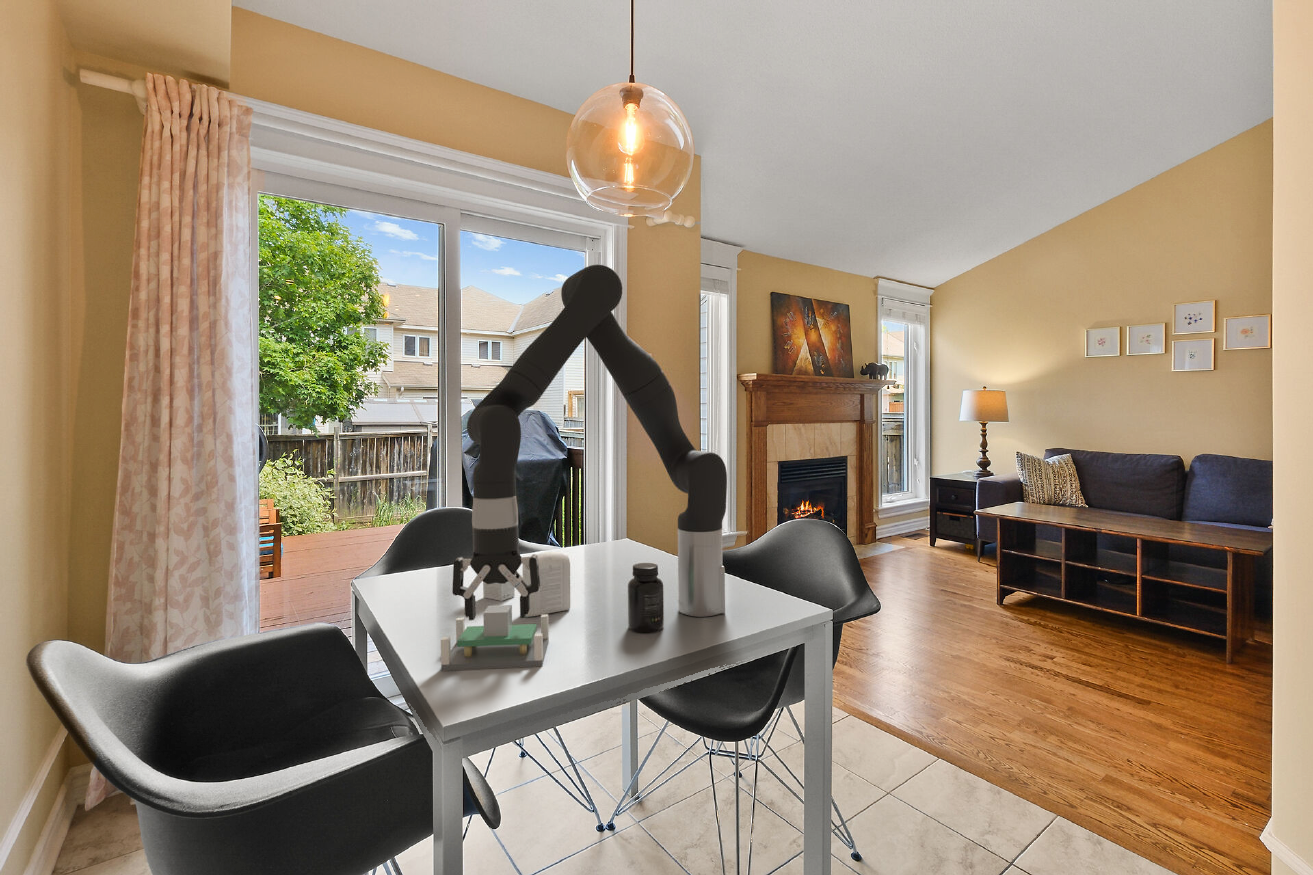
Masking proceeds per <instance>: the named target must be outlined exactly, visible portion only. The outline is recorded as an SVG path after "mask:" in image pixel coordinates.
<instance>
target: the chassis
mask: <svg viewBox="0 0 1313 875" xmlns="http://www.w3.org/2000/svg"><path fill="white" fill-rule="evenodd" d="M465 622H466V621H465V617H457V618H456V619H455V635H456V641H455V642H456V643H455V644H454V645H453V647H452V646H451V637H450V636H449V637H447V636H443V637H442V638H441V639H440V659H441V660H440V662H441V664H440V665H441V667H440V668H441V670H440V671H441V672H449V671H451V672H452V671H467V670H468V671H469V670H487V669H488V670H492V669H513V668H515V669H516V668H536V667H543V665H544V661H545V658H546V653H547V649H548V646H549V643H550V642H549V641H550V640H549V638H550V633H549V613H548V614H542V615H540V633H535V635H534V638H533V641H532V643H531V644H524V645H496V646H469V647H457V640H458V639H459V638H460V636H461V635H462V633H463V632H464V631H465V629H466V628H465V626H466V625H465ZM451 647H452V648H451Z"/></svg>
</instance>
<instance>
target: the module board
mask: <svg viewBox="0 0 1313 875" xmlns="http://www.w3.org/2000/svg"><path fill="white" fill-rule="evenodd" d="M482 614H483V625H470V626H466V628H465V631H464V632H463V633H462V635H461V636H460V638H459V639H458V640H457V647H469V646H496V645H524V644H531V643H532V641H533V638H534V635H535V634H537V633H536V632H537V630H538V629H537V627H538V626H537V625H538V624H537V623H533V624H532V623H530V624H529V623H528V624H526V623H525V624H513V605H512V604H503V605H502V604H501V605H496V604H495V605H487V607H486V609H484V611H483V613H482Z"/></svg>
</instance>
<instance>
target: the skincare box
mask: <svg viewBox="0 0 1313 875" xmlns="http://www.w3.org/2000/svg"><path fill="white" fill-rule="evenodd" d="M482 582H483V581H482ZM482 586H483V588H482V590H483V592H482V593H483V598H484V599H489V600H495V601H500V602H502V601H505V600H509V599H511V598H515V594H516V593H515V590H516V589H515V588H514V587H513V586H512V585H511V583H510V582H509V581H508V582H506V583H505V584H500V583H493V584H486V583H485V582H483V583H482Z"/></svg>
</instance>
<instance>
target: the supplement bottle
mask: <svg viewBox="0 0 1313 875" xmlns="http://www.w3.org/2000/svg"><path fill="white" fill-rule="evenodd" d="M658 566H659V565H658V564H657V563H652V562H640V563H638V562H637V563H635V564H633V565H632V578H631V579H630V580H629V581H628V583H627V620H628V621H627V624H628V628H629V629H630V631H632V632H634V633H639V634H652V633H653V634H654V633H657V632H659V631H661V630H662V629H663V628H664V624H665V616H664V614H665V612H664V611H665V610H664V609H665V608H664V602H665V600H664V582H663V581H662V580H661V578H659V577H658V576H659V567H658Z"/></svg>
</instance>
